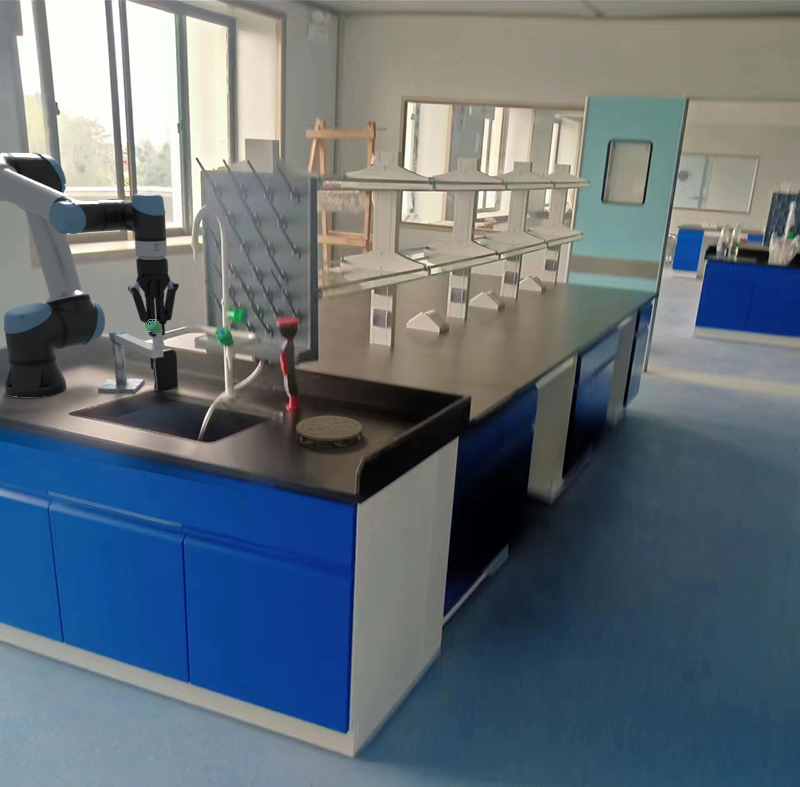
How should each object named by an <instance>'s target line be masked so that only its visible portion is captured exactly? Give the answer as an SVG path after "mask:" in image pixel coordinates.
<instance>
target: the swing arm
mask: <svg viewBox="0 0 800 787" xmlns="http://www.w3.org/2000/svg"><path fill="white" fill-rule="evenodd" d="M108 337H109V341H110V342H112V341H114V342H117V343H120V344H122V345H124V347H126V348H129V349H131V350H132V351H136V352H137V353H140V354H142V355H144V356H146V357H148V358H159V357H164V356H163V349H164V348H163V349H161V348H159V347H157V346H154V345H153V343H152V344H151V343H150V342H148V341H145V340H142V339H140V338H139V337H138V338H137V337H135V336H133V335H130V334H129V333H127V332H126V331H123V330H114V331H110V332H109V333H108Z"/></svg>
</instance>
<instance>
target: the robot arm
mask: <svg viewBox="0 0 800 787" xmlns="http://www.w3.org/2000/svg"><path fill="white" fill-rule="evenodd" d="M66 184H67V181H66V175H65V172H64V170H63V167H62V165H61V164H60V163H59V162H58V161H57V160H56V159H55V158H53V156H51V155H48V154H47V153H46V154H43V153H37V152H31V153H30V152H2V151H1V152H0V202H9V203H10V204H13V205H15V206H17V207H18V208H19V209H21V210H22V211H24V212H25V215H26V218H27V221H28V225H29V228H30V232H31V236H32V240H33V243H34V246H35V249H36V253H37V257H38V259H39V263H40V267H41V270H42V274H43V277H44V280H45V283H46V288H47V291H48V293H49V296H48V299H47V300H46V302H45V303H41V302H37V303H32V304H31V303H29V304H27V303H25V304H22V305H18V306H15V307H12V308H10V309H9V310H7V311H6V312H5V313H4V316H3V331H4V334H5V342H6V348H7V356H8V363H9V364H8V366H9V367H8V370H7V375H6V380H5V384H4V390H5V394H6V395H7V394H8V395H11V396H17V397H40V398H44V397H43V396H46V397H51V396H55V395H58V394H61V393H63V392H64V391H65V390H66V389H67V382H66V378H65V376H64V374H63V372H62V371H61V368H60V367H59V366H60V365H59V364H58V361H57V354H56V350H60V349H65V348H66V349H67V348H71V347H75V346H80V345H81V346H83V345H87V344H89V343H92V342H96V341H98V340H99V339H100V338H101V337H102V335H103V332H104V330H105V328H106V327H105V326H106V318H105V312H104V309H103V308H102V307H101V306H100V303H98V302H97V301H94V300H91V295H90V294H89V292H86V291H85V290H83V288H82V285H81V282H80V278H79V275H78V271H77V267H76V264H75V261H74V258H73V254H72V251H71V246H70V244H69V240H68V236H67V234H69V235H77V234H86V233H87V234H88V233H98V232H115V231H117V232H118V231H127V232H128V231H129V232H133V234H134V247H135V256H136V257H137V258H136V259H135V261H136V273H137V277H136V281H135V283H134V284H133V285H132V286H131V285H129V286H128V287H127V290H128V291H129V292H130V294H131V296H132V299H133V301H134V305H135V308H136V310H137V313H138V317H139V320H140V321H141V322H142V323H144V324H148V322H149V321H152V320H149V319H156V322H157V321H159V323H160V324H161V327H162V329H161V330H163V331H162V333H160V332H159V333H157V332H156V333H157V335H156V334H152V333H153V332H149V331H148V335H149V336H150V337H152V345H154V346H157V347H159V348H161V349H164V345H163V344H164V342H163V336H165V335H166V331H165V330H166V327H165V325H166V324H167V321H170V320H172V317H173V311H174V305H175V297H176V293H177V291H178V289H179V287H180V285H179V283H176V282H174V281H172V280H171V276H170V275H169V262H168V258H167V256H168V246H167V227H166V209H165V204H164V203H165V202H164V197H163V196H162V194H161V195H160V194H159V193H134V194H132V195H131V200H128V199H127V200H126V199H121V198H111V199H110V198H109V199H105V200H103V199H102V200H99V199H98V200H80V199H77V198H75V197H72V196H70V195H67V194H65V191H66V188H67V187H66ZM166 289H167V290H166ZM141 290H142V291H143V293H144V297H145V303H144V300H143V297H142V294H141ZM165 290H166V293H165ZM165 294H166V295H165ZM164 298H165V300H164ZM148 320H149V321H148ZM147 321H148V322H147ZM153 321H155V320H153ZM146 322H147V323H146ZM149 325H150V323H149ZM150 331H151V330H150ZM8 395H7V396H8Z"/></svg>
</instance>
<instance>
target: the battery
mask: <svg viewBox="0 0 800 787" xmlns="http://www.w3.org/2000/svg"><path fill="white" fill-rule="evenodd" d="M163 356H164V357H159V358H150V357H149V358H150V360H149V362H150V369H151V370H153V376H154V385H153V386H154V387H153V389H154V390H155V391H156V392H163V391H167V390H170V389H174V388H177V387H179V381H178V380H179V379H178V357H177V356H178V355H177V352H176V351H175V350H174V349H172V348H163Z"/></svg>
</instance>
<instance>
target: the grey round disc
mask: <svg viewBox="0 0 800 787" xmlns="http://www.w3.org/2000/svg"><path fill="white" fill-rule="evenodd" d="M362 437H363V425H362V424H361V422H359V421H358V420H356V419H353V418H350V417H347V416H342V415H341V416H339V415H319V416H318V415H317V416H312V417H307V418H304V419H301V421H299V422H298V423H297V424H296V426H295V438H296V441H297V442H298V443H299V444H301V445H303V446H306V447H308V448H312V449H318V450H341V449H345V448H346V449H347V448H350V447H352V446H355V445H358V444H359V443H360V442H361V441H362Z"/></svg>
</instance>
